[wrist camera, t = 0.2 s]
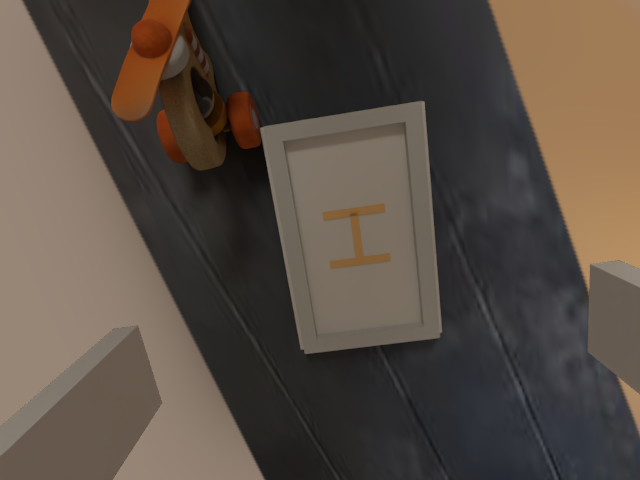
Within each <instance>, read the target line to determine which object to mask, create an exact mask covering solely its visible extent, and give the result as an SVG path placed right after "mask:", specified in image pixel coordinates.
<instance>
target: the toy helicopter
mask: <svg viewBox="0 0 640 480" xmlns="http://www.w3.org/2000/svg"><path fill="white" fill-rule="evenodd" d="M191 1H192V0H149V4H148V7H147V9H146V12H145V14H144V16H143V18H142V20H141V21H139V22H138V23H136V24H135V26H134V27H133V29H132V33H131V45H130V49H129V51H128V54H127V56H126V58H125V61H124V63H123V66H122V69H121V71H120V74H119V77H118V80H117V83H116V86H115V89H114V92H113V95H112V98H111V106H112V109H113V111H114V113H115V114H116V115H117V116H118V117H119V118H120V119H122V120H124V121H128V122H137V121H140V120H142V119H144V118H145V117H146V116H148V115H149V114H150V112H151V110H152V108H153V105H154V101H155V98H156V95H157V91H158V88H159V91H160V95H161V99H162V103H163V107H164V110H161V111H160V112H159V113H158V116H157V130H158V134H159V138H160V141H161V143H162V146H163V148H164V150H165V152H166V153H167V155H168V156H169V157H170V158H171V160H173V161H174V162H177V163H184V162H188V163H189V164H190V165H191V166H192V167H193V168H194V169H196V170H199V171H201V170H207V169H211V168H214V167H218V166H220V165H222V163H223V162H224V160H225V157H226V132H229V131H232V132H233V135H234V137H235V140H236V141H237V143H238V145H239V146H240V147H241V148H243V149H248V148H253V147H257V146H259V145H260V144H261V131H260V123H259V118H258V114H257V111H256V107H255V105H254V102H253V99H252V97H251V96H250V94H249V93H248V92H239V93H234V94H231V95H230V96H229V97H228V99H227V103H226V104H225V103H224V102H223V100H222V98H221V97H220V95H219V94H218V93H217V90H216V86H215V81H214V72H213V67H212V63H211V60H210V58H209V56H208V54H207V53H205V52H204V51H203V49H202V47H201V45H200V43H199V40H198V38H197V37H196V35H195V32H194V30H193V28H192V25H191V22H190V19H189V15H188V12H187V10H188V8H189V5H190V3H191Z"/></svg>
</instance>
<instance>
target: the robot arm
mask: <svg viewBox="0 0 640 480" xmlns="http://www.w3.org/2000/svg"><path fill="white" fill-rule="evenodd" d="M588 352H589V353H590V354H591V355H592V356H594V357H595V358H596V359H597V360H599V361H600V362H601V363H602V364H603V365H605V366H606V367H607V368H608V369H610V370H611V371H612V372H613V373H614V374H616V375H617V376H618V377H619V378H621V379H622V380H623V381H624V382H625V383H627V384H628V385H629V386H630V387H632V388H633V389H634V390H635V391H637V392H638V393H639V394H640V269H639V268H637V267H634V266H632V265H629V264H627V263H625V262H622V261H620V260H617V261H610V262H603V263H595V264H590V289H589V326H588ZM161 404H162V401H161V398H160V395H159V391H158V389H157V386H156V382H155V379H154V375H153V372H152V369H151V366H150V363H149V360H148V356H147V353H146V350H145V347H144V343H143V340H142V337H141V334H140V331H139V328H138V326H131V327H123V328H116V329H113V330H112V331H110V332H109V333H108V334H107V335H106V336H105V337H104V338H102V339H101V340H100V341H99V342H98V343H97V344H95V345H94V346H93V347H92V348H91V349H90V350H88V351H87V352H86V353H85V354H84V355H83V356H81V357H80V358H79V359H78V360H77V361H76V362H74V363H73V364H72V365H71V366H70V367H69V368H67V369H66V370H65V371H64V372H63V373H62V374H61V375H59V376H58V377H57V378H56V379H55V380H54V381H52V382H51V383H50V384H49V385H48V386H47V387H45V388H44V389H43V390H42V391H41V392H40V393H39V394H37V395H36V396H35V397H34V398H33V399H32V400H30V401H29V402H28V403H27V404H26V405H24V407H22V408H21V409H20V410H19V411H18V412H16V413H15V414H14V415H13V416H12V417H11V418H9V419H8V420H7V421H6V422H5V423H4V424H3V425H1V426H0V480H113V478H114V477H115V475H116V474H117V472H118V470H119V469H120V467H121V466H122V464H123V463H124V461H125V459H126V458H127V456H128V455H129V453H130V452H131V450H132V449H133V447H134V446H135V444H136V443H137V441H138V439H139V438H140V436H141V435H142V433H143V432H144V430H145V428H146V427H147V426H148V424H149V422H150V421H151V419H152V418H153V416H154V415H155V413H156V412H157V410H158V408H159V407H160V405H161Z"/></svg>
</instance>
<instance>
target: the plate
mask: <svg viewBox="0 0 640 480" xmlns="http://www.w3.org/2000/svg"><path fill="white" fill-rule="evenodd" d="M260 131H261V137H262V142H263V148H264V153H265V158H266V164H267V169H268V175H269V180H270V185H271V191H272V196H273V202H274V207H275V213H276V218H277V223H278V229H279V234H280V240H281V245H282V250H283V256H284V261H285V267H286V272H287V278H288V283H289V288H290V294H291V299H292V305H293V310H294V315H295V321H296V326H297V332H298V337H299V343H300V348H301V349H304V353H305V354H310V353H319V352H327V351H335V350H344V349H352V348H360V347H369V346H377V345H385V344H394V343H402V342H410V341H419V340H427V339H435V338H440V333H442V323H441V310H440V297H439V284H438V271H437V258H436V245H435V232H434V219H433V206H432V193H431V180H430V167H429V154H428V141H427V128H426V114H425V101H423V102H422V101H418V102H412V103H406V104H399V105H393V106H387V107H381V108H375V109H369V110H362V111H356V112H350V113H344V114H338V115H332V116H325V117H319V118H313V119H307V120H301V121H295V122H288V123H282V124H276V125H270V126H264V127H262V128H260Z"/></svg>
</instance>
